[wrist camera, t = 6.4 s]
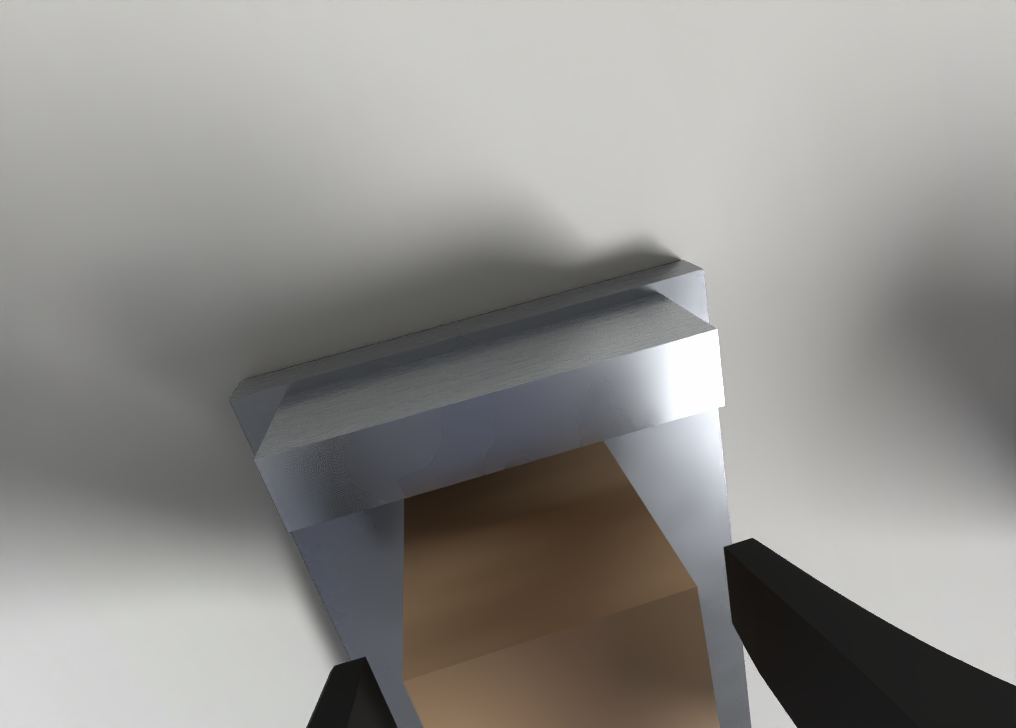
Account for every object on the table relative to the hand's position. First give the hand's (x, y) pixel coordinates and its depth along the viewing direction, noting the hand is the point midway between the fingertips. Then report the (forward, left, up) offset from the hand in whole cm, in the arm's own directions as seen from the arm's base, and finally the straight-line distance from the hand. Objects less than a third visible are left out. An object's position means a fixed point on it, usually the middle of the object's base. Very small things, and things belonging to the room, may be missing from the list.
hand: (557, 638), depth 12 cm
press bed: (0, -4, -4) cm, 5 cm away
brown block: (0, 0, -3) cm, 3 cm away
